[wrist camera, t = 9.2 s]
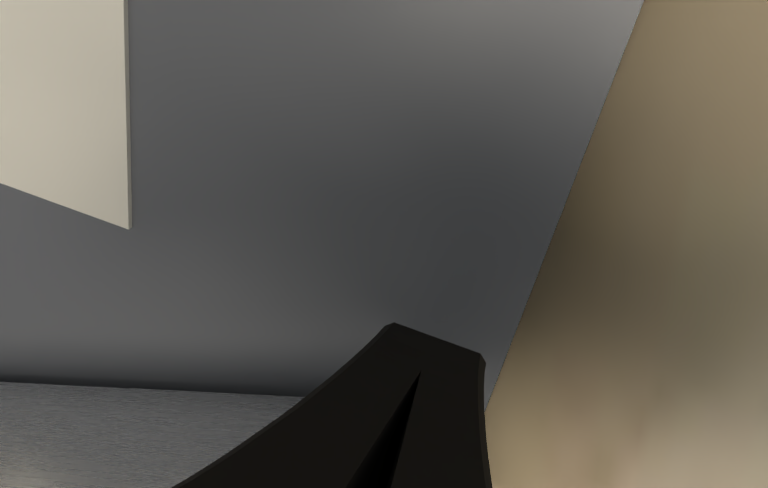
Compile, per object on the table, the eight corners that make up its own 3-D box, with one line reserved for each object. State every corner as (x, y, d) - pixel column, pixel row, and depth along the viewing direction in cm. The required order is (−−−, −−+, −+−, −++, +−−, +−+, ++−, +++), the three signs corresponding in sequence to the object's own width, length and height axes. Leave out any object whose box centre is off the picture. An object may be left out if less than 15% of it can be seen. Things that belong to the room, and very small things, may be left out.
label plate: (-115, 424, 19) (-142, 444, 18) (-346, -310, 10) (-414, -324, 10) (388, 654, 16) (378, 686, 16) (668, -75, 7) (674, -73, 7)
